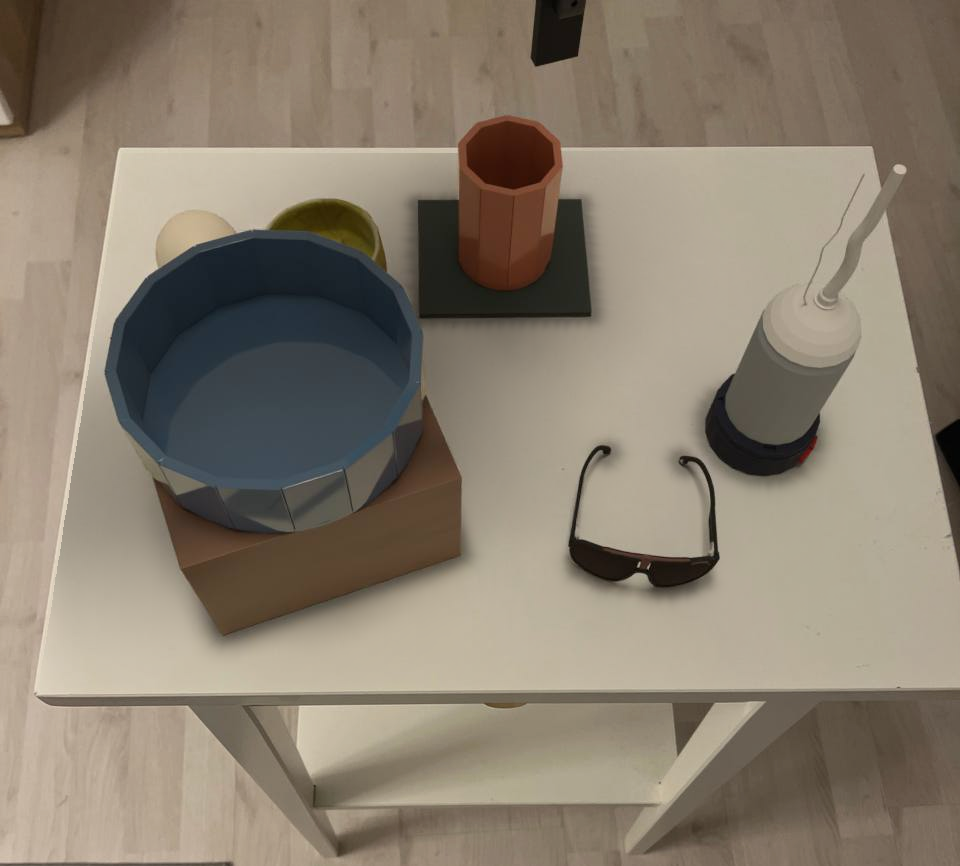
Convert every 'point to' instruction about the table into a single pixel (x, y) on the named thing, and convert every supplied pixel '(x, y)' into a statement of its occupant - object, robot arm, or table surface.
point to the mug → (334, 224)
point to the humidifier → (792, 364)
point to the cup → (507, 201)
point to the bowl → (270, 379)
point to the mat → (460, 296)
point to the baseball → (189, 233)
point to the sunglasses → (624, 564)
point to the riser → (324, 544)
